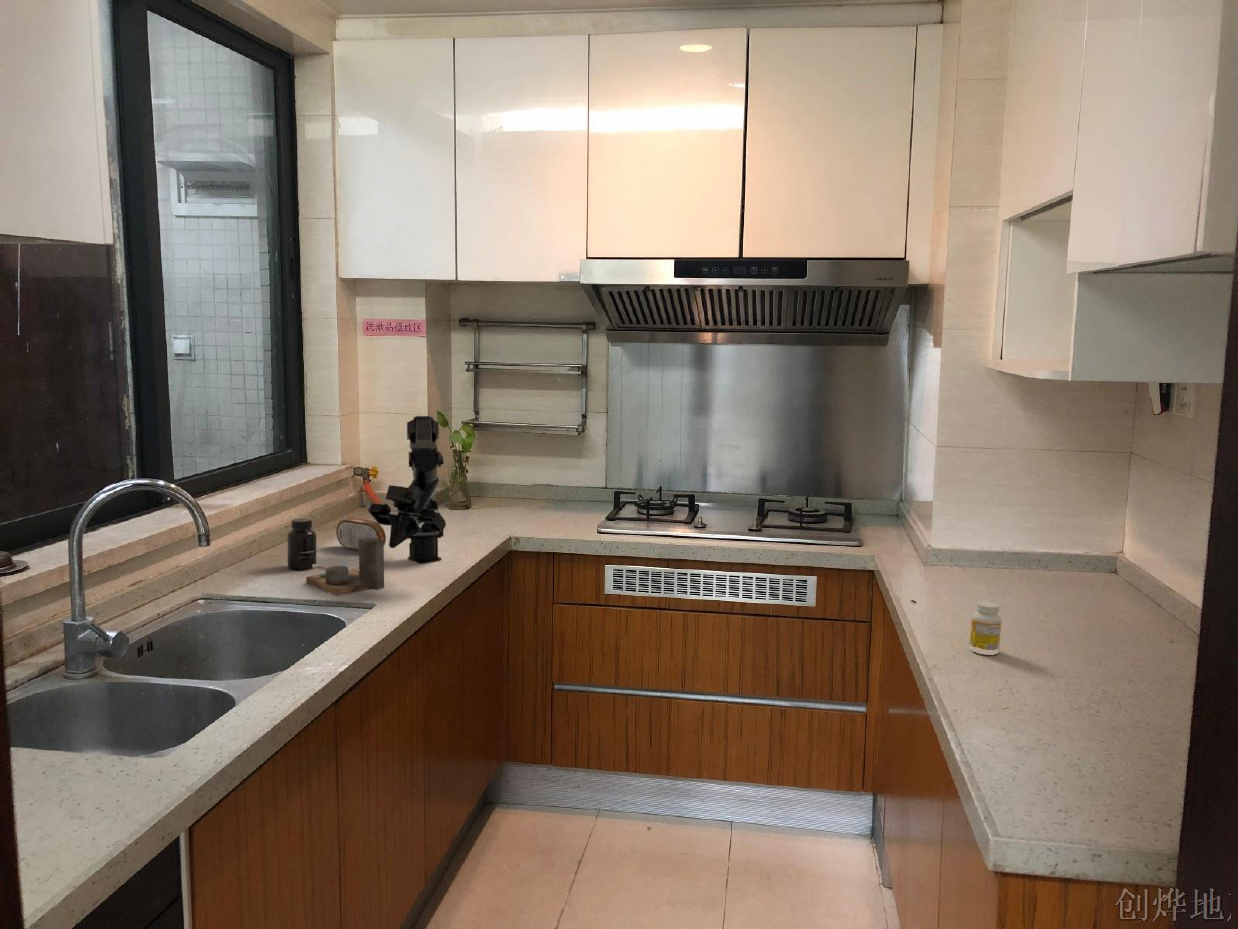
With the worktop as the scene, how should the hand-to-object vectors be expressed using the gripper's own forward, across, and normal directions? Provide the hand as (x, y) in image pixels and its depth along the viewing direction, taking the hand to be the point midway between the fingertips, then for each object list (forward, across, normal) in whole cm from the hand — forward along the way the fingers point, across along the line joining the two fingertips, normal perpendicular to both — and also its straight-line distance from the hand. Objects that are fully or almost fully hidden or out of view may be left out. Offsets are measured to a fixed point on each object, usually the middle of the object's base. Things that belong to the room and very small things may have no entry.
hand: (391, 547), depth 214 cm
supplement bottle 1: (+4, -31, +10) cm, 33 cm away
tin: (-11, -30, +25) cm, 41 cm away
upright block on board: (+10, -8, +1) cm, 13 cm away
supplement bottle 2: (-7, +127, +21) cm, 129 cm away
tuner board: (+9, -11, +5) cm, 15 cm away
